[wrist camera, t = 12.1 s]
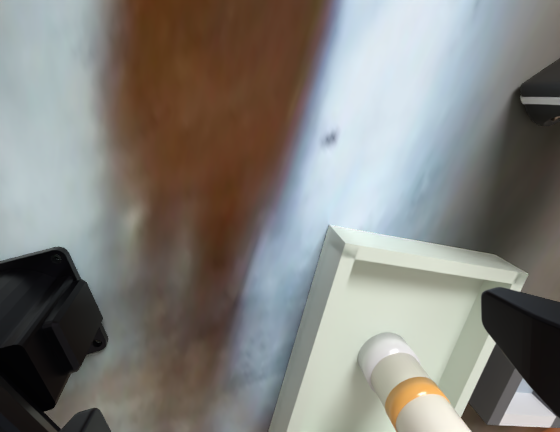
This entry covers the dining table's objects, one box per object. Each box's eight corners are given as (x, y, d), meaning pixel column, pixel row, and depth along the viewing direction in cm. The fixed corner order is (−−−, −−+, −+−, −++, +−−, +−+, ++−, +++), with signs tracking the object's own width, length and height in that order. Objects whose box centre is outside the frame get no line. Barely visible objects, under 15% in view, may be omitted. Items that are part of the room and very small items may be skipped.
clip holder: (456, 393, 28) (483, 426, 26) (492, 315, 26) (525, 341, 24) (528, 398, 30) (561, 430, 27) (567, 324, 28) (607, 351, 25)
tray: (267, 433, 26) (274, 471, 24) (329, 224, 22) (345, 242, 19) (414, 438, 29) (434, 472, 27) (494, 254, 25) (528, 273, 22)
